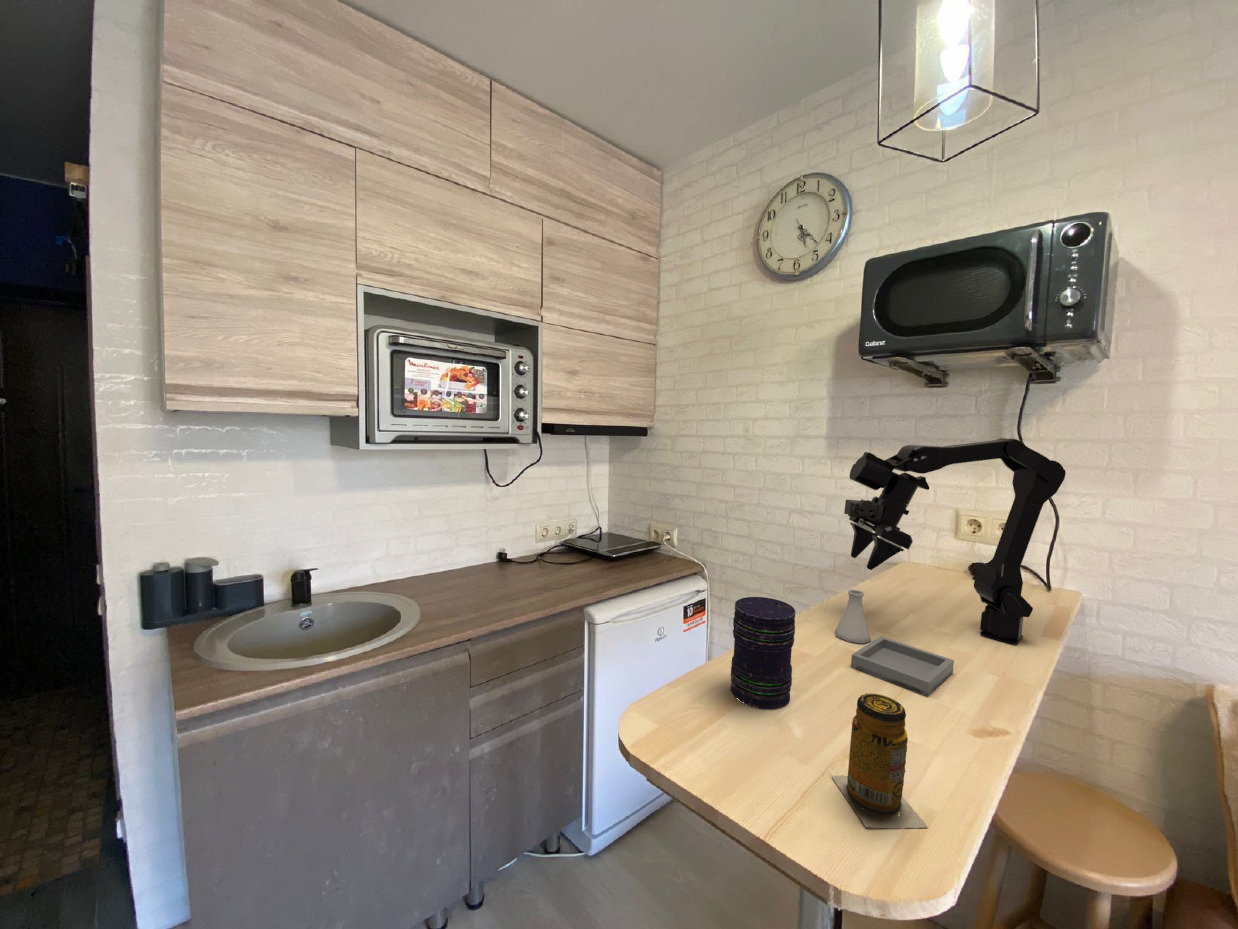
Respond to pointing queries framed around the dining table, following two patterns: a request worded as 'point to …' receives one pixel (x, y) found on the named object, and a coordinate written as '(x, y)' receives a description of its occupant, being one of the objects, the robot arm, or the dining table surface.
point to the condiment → (878, 765)
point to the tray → (903, 665)
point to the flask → (853, 620)
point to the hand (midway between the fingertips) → (860, 562)
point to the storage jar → (762, 652)
